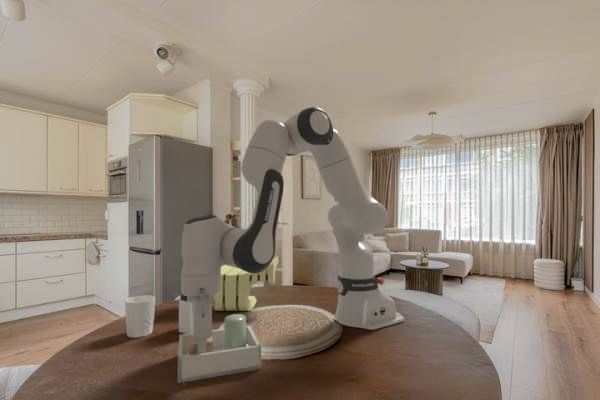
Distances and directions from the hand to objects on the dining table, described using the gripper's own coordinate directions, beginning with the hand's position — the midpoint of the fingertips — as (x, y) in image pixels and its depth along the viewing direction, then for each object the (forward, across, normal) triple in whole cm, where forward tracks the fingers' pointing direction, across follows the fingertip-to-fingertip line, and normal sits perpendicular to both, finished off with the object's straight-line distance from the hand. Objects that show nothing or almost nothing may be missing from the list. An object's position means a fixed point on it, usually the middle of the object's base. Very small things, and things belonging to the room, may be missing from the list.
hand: (200, 344), depth 73 cm
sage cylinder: (+4, 0, -8) cm, 9 cm away
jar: (+5, +24, +1) cm, 24 cm away
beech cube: (+4, 0, 0) cm, 4 cm away
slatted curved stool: (+5, +42, -14) cm, 44 cm away
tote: (+5, 0, -4) cm, 6 cm away
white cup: (+5, +26, +16) cm, 30 cm away
